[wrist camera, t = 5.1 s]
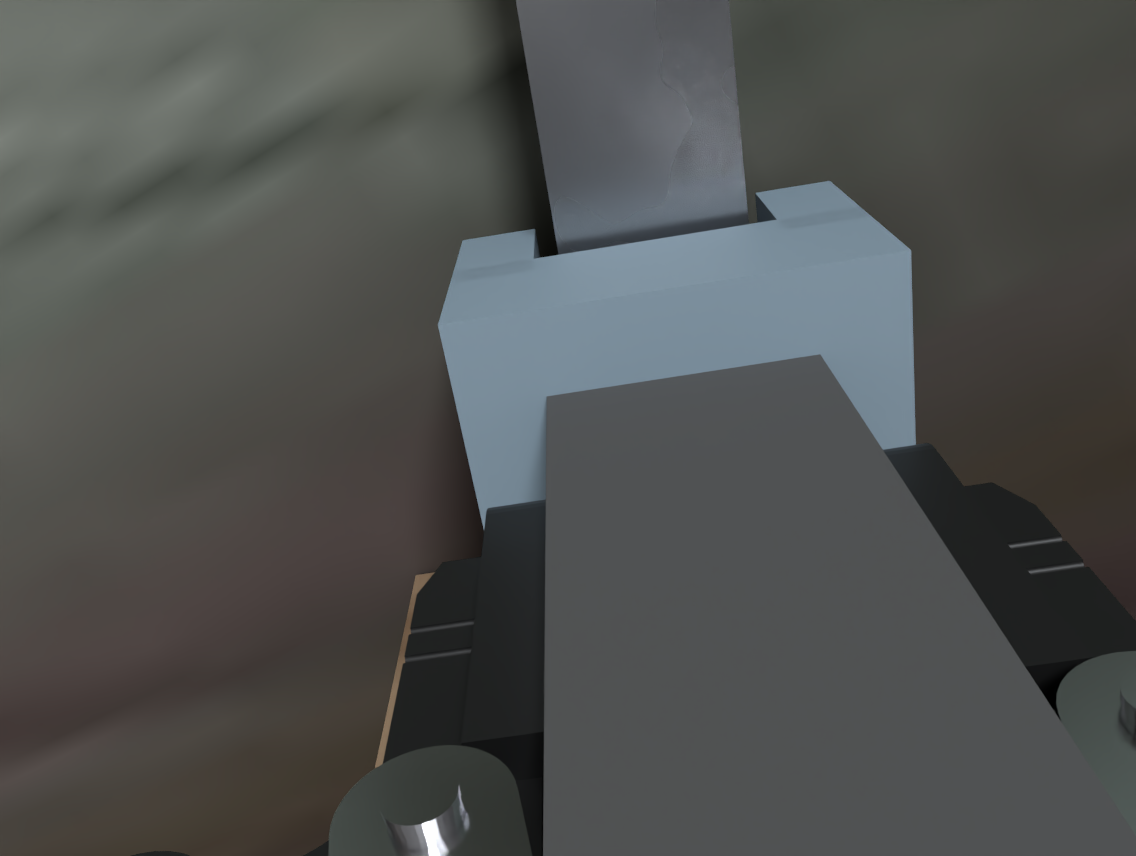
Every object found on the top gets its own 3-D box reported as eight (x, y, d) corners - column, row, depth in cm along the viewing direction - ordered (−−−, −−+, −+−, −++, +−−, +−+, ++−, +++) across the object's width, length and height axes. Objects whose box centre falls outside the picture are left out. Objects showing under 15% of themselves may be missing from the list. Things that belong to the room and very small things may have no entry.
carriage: (463, 240, 14) (291, 828, 5) (830, 180, 14) (1414, 679, 5) (526, 551, 16) (494, 1389, 7) (847, 504, 16) (1273, 1311, 7)
